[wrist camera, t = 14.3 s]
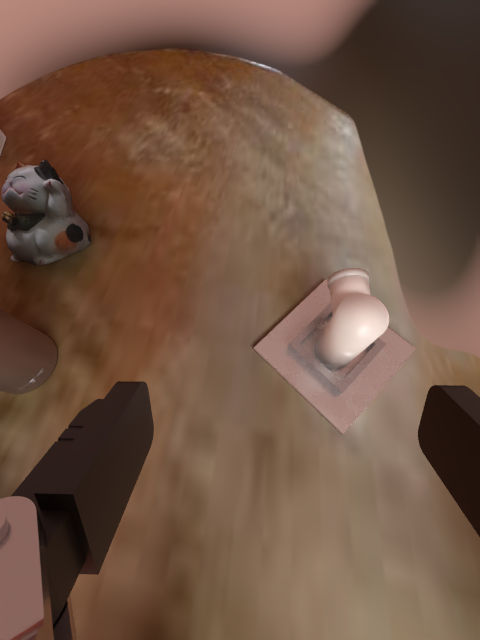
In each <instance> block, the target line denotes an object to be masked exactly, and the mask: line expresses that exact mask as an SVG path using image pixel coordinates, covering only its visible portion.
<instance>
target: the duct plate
mask: <svg viewBox="0 0 480 640" xmlns="http://www.w3.org/2000/svg"><path fill="white" fill-rule="evenodd" d="M327 281H328V280H327V279H325V280H324V281H323V282H322V283H321V284H320V285H319V286H318V287H317V288H316V289H315V290H314V291H313V292H312V293H311V294H310V295H309V296H308V297H307V298H305V299H304V300H303V301H302V302H301V303H300V304H299V305H298V306H297V307H296V308H295V309H294V310H293V311H292V312H291V313H290V314H289V315H288V316H287V317H285V318H284V319H283V320H282V321H281V322H280V323H279V324H278V325H277V326H276V327H275V328H274V329H273V330H272V331H271V332H270V333H269V334H268V335H267V336H266V337H264V338H263V339H262V340H261V341H260V342H259V343H258V344H257V345H256V346H255V347H254V348H253V350H254V351H255V352H256V353H257V354H258V355H259V356H261V357H262V358H263V359H264V360H265V361H266V362H267V363H268V364H269V365H270V366H271V367H272V368H273V369H274V370H275V371H276V372H277V373H278V374H279V375H280V376H281V377H282V378H283V379H284V380H285V381H287V382H288V383H289V384H290V385H291V386H292V387H293V388H294V389H295V390H296V391H297V392H298V393H299V394H300V395H301V396H302V397H303V398H304V399H305V400H306V401H307V402H308V403H309V404H310V405H311V406H312V407H314V408H315V409H316V410H317V411H318V412H319V413H320V414H321V415H322V416H323V417H324V418H325V419H326V420H327V421H328V422H329V423H330V424H331V425H332V426H333V427H334V428H335V429H336V430H337V431H338V432H339V433H341V434H344V433H345V431H346V430H347V429H348V428H349V427H350V425H351V424H352V423H353V422H354V421H355V420H356V418H357V417H358V416H359V415H360V414H361V413H362V411H363V410H364V409H365V408H366V407H367V406H368V404H369V403H370V402H371V401H372V400H373V398H374V397H375V396H376V395H377V394H378V393H379V391H380V390H381V389H382V388H383V387H384V386H385V384H386V383H387V382H388V381H389V380H390V378H391V377H392V376H393V375H394V374H395V373H396V371H397V370H398V369H399V368H400V367H401V366H402V364H403V363H404V362H405V361H406V360H407V358H408V357H409V356H410V355H411V354H412V353H413V351H414V350H415V348H414V347H413V346H411V345H410V344H409V343H408V342H406V341H405V340H404V339H402V338H401V337H400V336H399V335H397V334H396V333H395V332H393V331H392V330H391V329H390V328H388V327H387V329H386V330H385V332H384V333H383V334H382V335H380V336H379V337H378V338H377V339H376V340H375V341H374V342H373V343H371V344H370V345H369V346H368V347H367V348H366V349H365V350H363V351H362V352H361V353H360V354H359V355H358V356H357V357H355V358H354V359H353V360H352V361H351V362H350V363H349V364H347V365H346V366H344V367H342V368H331V367H328V366H326V365H324V364H323V363H322V362H321V361H320V360H319V359H318V357H317V355H316V349H315V348H316V343H317V341H318V339H319V338H320V336H321V334H322V333H323V331H324V329H325V328H326V326H327V324H328V323H329V321H330V320H331V318H332V316H333V315H332V306H331V297H330V290H329V288H328V282H327Z"/></svg>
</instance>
